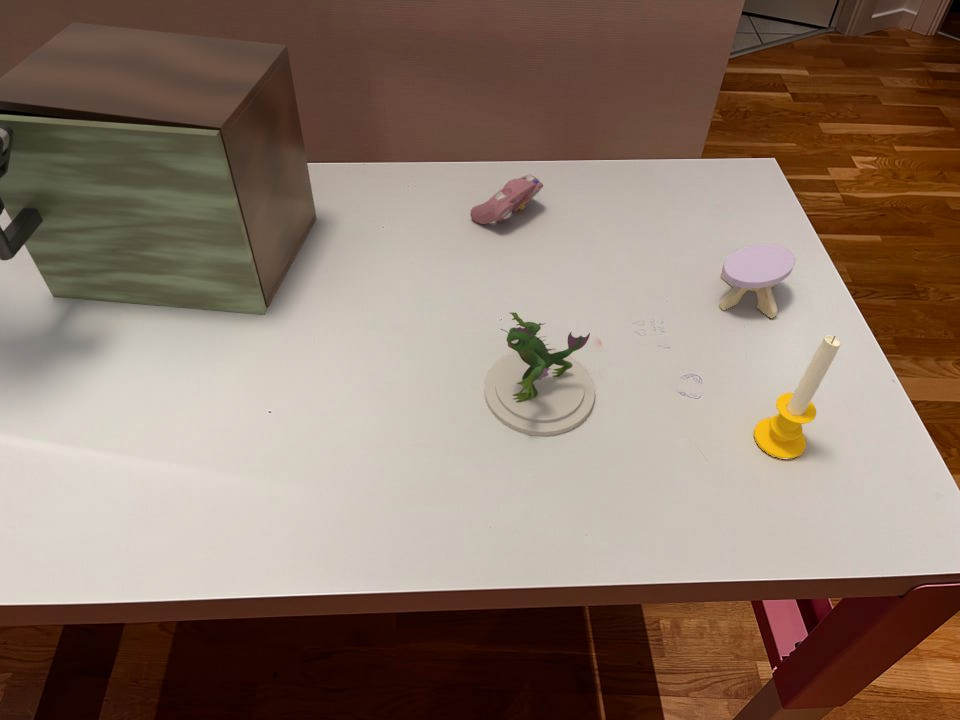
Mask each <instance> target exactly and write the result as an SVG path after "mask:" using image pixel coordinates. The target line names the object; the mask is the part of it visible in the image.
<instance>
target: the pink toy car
mask: <svg viewBox="0 0 960 720" xmlns="http://www.w3.org/2000/svg"><path fill="white" fill-rule="evenodd" d="M543 188H544V184H543V183H542V182H541V181H540V179H539V178H538V177H536V176H534V175H532V174H531V173H529V174H526V175H524V176H521V177H518V178H515V179H510V180H509V181H507V183H506V184H505V185H504V186H503V188H501V189H499V191H497V192H496V193H495V194H494V195H493V196H492V197H490V198H489V199H488V200H487V201H485V202H483V203H480V204H478V205H475V206H473V207H472V208H471V209H470V213H469V215H470V218H471V220H472V221H473V222H475V223H477V224H480V225H485V224H490V223H493V222H499V223H502V222H503V221H505V220H507V219H509V218H510V217H511V216H512V212H514V213H517V212H519V211H523V210H524V209H525V205H526V204H528V202H529V201H531V200H532V199H534V197H536V196H537V194H539V193H540V191H542V189H543Z"/></svg>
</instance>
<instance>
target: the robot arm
mask: <svg viewBox="0 0 960 720" xmlns="http://www.w3.org/2000/svg"><path fill="white" fill-rule="evenodd" d="M12 140H13V130H12V128H11V127H9V126H8V125H6V124H1V125H0V179H1V177H2V176H4V175H5V174H6V173H7V171H8V166H9V159H10V153H11V146H12ZM4 210H5V208H4V203H3V201H2V200H1V198H0V216H2V214H3V213H4Z"/></svg>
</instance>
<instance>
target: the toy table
mask: <svg viewBox="0 0 960 720" xmlns="http://www.w3.org/2000/svg"><path fill="white" fill-rule="evenodd" d="M795 265H796V257H795V254H794V253H793V252H792V251H791V250H790V249H788V248H786V247H784V246H781V245H779V244H774V243H756V244H750V245H747V246H744V247H741V248H738V249H737V250H735V251H734V252H731V254H728V255H727V257H726V258H725V260H724V263H723V265H722V268H721V273H720V275H719V276H720V278H721V279H722V280H723V281H725V282H726V283H727V284H728V285H729V284H730V285H729V286H730V287H732V288H731V289H730V290H729V291H728V292H727V293H726V294H725V295H724V296H723V298H721V300H720V301H719V303H718V307H719V308H720V310H722V311H724V310H725V311H727V310H729V309H731V308H733V307H735V306H737V305H738V304H739V303H740V301H741V299H742V297H743V296H744V295H745V294H746V292H748V291H752V292H755V294H756V297H757V306H756V308H757V307H758V308H757V310H759V309H760V310H761V311H762V312H764V314H763V315H765V314H766V315H767V316H768V317H770V318H772V319H774V318H776V317H777V316H778V313H779V309H778V305H777V303H776V299H775V296H774V293H773V290H772V289H773V288H775V287H776V286H777V285H778V283H780V282H782V281H784V280H786V279H787V278H788V277H789V276H790V274H791V273H792V271H793V269H794V267H795ZM774 286H775V287H774ZM772 287H773V288H772ZM734 305H735V306H734ZM732 306H733V307H732ZM730 307H731V308H730ZM728 308H729V309H728ZM726 309H727V310H726ZM760 310H759V311H760ZM761 311H760V312H761ZM762 312H761V313H762ZM766 315H765V316H766ZM767 316H766V317H767ZM775 316H776V317H775ZM768 317H767V318H768ZM773 317H774V318H773Z"/></svg>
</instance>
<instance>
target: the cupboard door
mask: <svg viewBox="0 0 960 720" xmlns="http://www.w3.org/2000/svg"><path fill="white" fill-rule="evenodd" d="M1 124H6V125H8V126H9V127H11V128H12V130H13V140H12V146H11V153H10V159H9V166H8V171H7V173H6V174H5V175H4V176H2V177H1V179H0V198H1V200H2V201H3V203H4V210H5V212H6V214H7V215H8V217H9V219H10V223H9V224H7V226H6V227H5V229H3V228H2V226H1V225H0V261H9V260H12V259H13V258H15V257H16V255H17V254H18V253H19V251H20V250H21V249H22V248H23V246H24V247H25V248H26V250H27V252H28V254H29V255H30V257H31V259H32V261H33V263H34V265H35V266H36V268H37V270H38V272H39V274H40V275H41V278H42V279H43V281H44V283H45V285H46V286H47V288H48V290H49V292H50V293H51V296H52V297H56V298H65V299H67V298H68V299H76V300H77V299H80V300H91V301H100V302H101V301H103V302H113V303H115V302H116V303H124V304H136V305H147V306H160V307H169V308H170V307H171V308H183V309H195V310H206V311H207V310H208V311H219V312H228V313H229V312H231V313H242V314H253V315H265V313H266V312H267V308H266V305H265V301H264V298H263V294H262V290H261V286H260V282H259V279H258V275H257V271H256V267H255V263H254V260H253V256H252V252H251V248H250V245H249V241H248V237H247V233H246V229H245V226H244V222H243V218H242V214H241V210H240V207H239V203H238V199H237V195H236V191H235V188H234V184H233V180H232V176H231V173H230V169H229V165H228V161H227V157H226V154H225V150H224V146H223V142H222V138H221V135H220V131H219V130H207V129H193V128H179V127H166V126H152V125H138V124H125V123H111V122H97V121H84V120H70V119H56V118H43V117H29V116H16V115H2V114H0V125H1Z"/></svg>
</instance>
